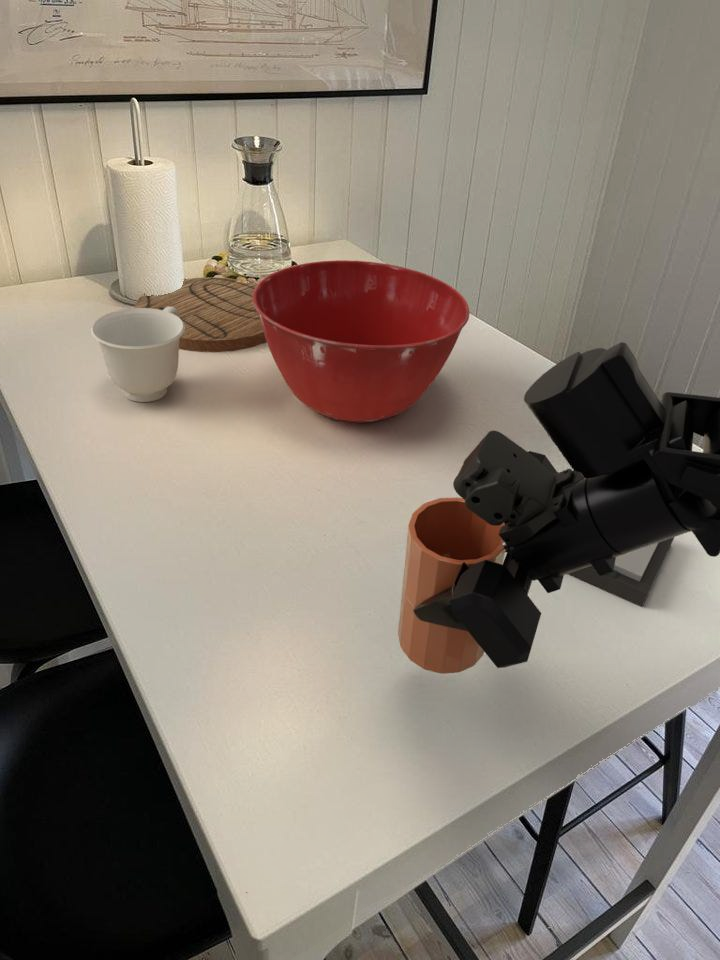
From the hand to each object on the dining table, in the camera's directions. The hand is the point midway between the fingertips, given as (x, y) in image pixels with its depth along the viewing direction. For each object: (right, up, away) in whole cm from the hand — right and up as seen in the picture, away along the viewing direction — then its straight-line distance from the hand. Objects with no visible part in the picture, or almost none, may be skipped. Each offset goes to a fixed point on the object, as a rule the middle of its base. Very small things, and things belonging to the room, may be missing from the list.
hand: (432, 581), depth 60 cm
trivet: (-30, +35, +66) cm, 81 cm away
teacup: (-35, +21, +47) cm, 62 cm away
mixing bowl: (-7, +20, +48) cm, 53 cm away
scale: (+22, 0, +25) cm, 33 cm away
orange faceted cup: (+1, -6, +4) cm, 7 cm away
